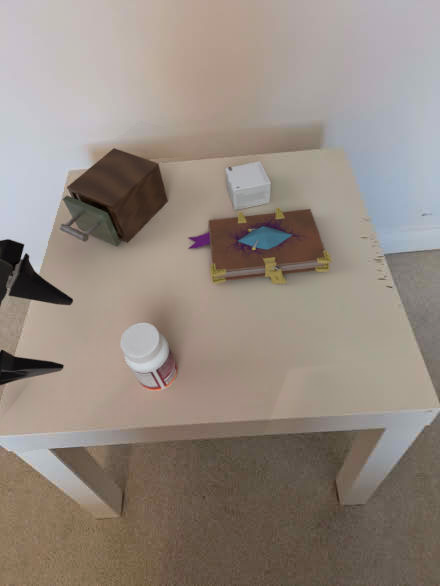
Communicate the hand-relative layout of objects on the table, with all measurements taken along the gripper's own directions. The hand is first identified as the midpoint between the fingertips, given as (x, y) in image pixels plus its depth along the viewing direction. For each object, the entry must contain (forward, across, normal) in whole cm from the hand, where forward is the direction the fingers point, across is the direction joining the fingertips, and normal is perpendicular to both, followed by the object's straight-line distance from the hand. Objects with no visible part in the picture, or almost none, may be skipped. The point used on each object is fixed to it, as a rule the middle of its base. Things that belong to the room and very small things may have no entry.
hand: (67, 333), depth 46 cm
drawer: (+8, +33, +11) cm, 36 cm away
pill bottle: (+16, 0, +5) cm, 17 cm away
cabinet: (+11, +37, +9) cm, 40 cm away
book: (+29, +21, -7) cm, 37 cm away
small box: (+30, +37, -8) cm, 49 cm away
